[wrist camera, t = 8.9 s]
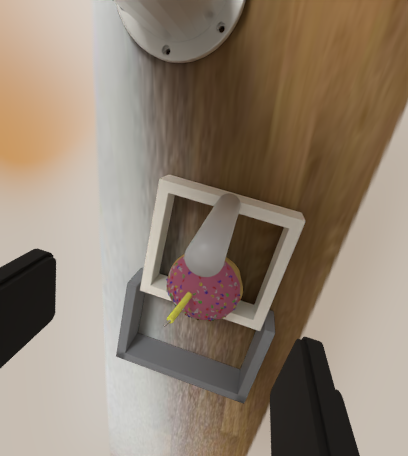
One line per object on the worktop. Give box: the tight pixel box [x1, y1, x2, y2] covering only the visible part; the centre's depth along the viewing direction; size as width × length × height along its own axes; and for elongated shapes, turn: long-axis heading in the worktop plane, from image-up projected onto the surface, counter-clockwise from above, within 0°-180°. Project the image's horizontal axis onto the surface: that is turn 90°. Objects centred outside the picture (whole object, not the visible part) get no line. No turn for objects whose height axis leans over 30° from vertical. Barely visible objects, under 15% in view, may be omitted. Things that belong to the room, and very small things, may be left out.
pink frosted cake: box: [163, 254, 243, 326], centre depth 29 cm, size 9×8×12 cm
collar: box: [140, 175, 306, 331], centre depth 26 cm, size 15×15×16 cm
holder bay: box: [116, 268, 275, 404], centre depth 36 cm, size 12×18×4 cm
